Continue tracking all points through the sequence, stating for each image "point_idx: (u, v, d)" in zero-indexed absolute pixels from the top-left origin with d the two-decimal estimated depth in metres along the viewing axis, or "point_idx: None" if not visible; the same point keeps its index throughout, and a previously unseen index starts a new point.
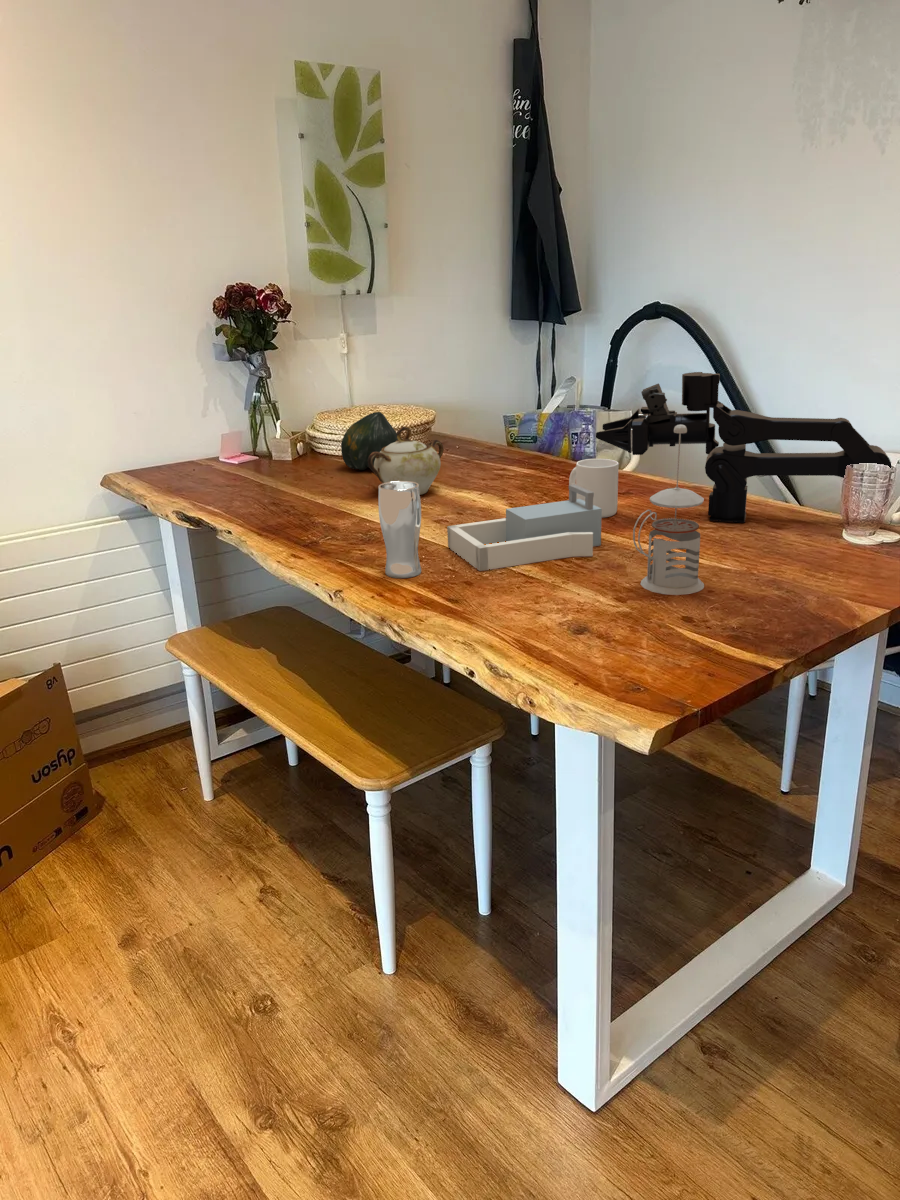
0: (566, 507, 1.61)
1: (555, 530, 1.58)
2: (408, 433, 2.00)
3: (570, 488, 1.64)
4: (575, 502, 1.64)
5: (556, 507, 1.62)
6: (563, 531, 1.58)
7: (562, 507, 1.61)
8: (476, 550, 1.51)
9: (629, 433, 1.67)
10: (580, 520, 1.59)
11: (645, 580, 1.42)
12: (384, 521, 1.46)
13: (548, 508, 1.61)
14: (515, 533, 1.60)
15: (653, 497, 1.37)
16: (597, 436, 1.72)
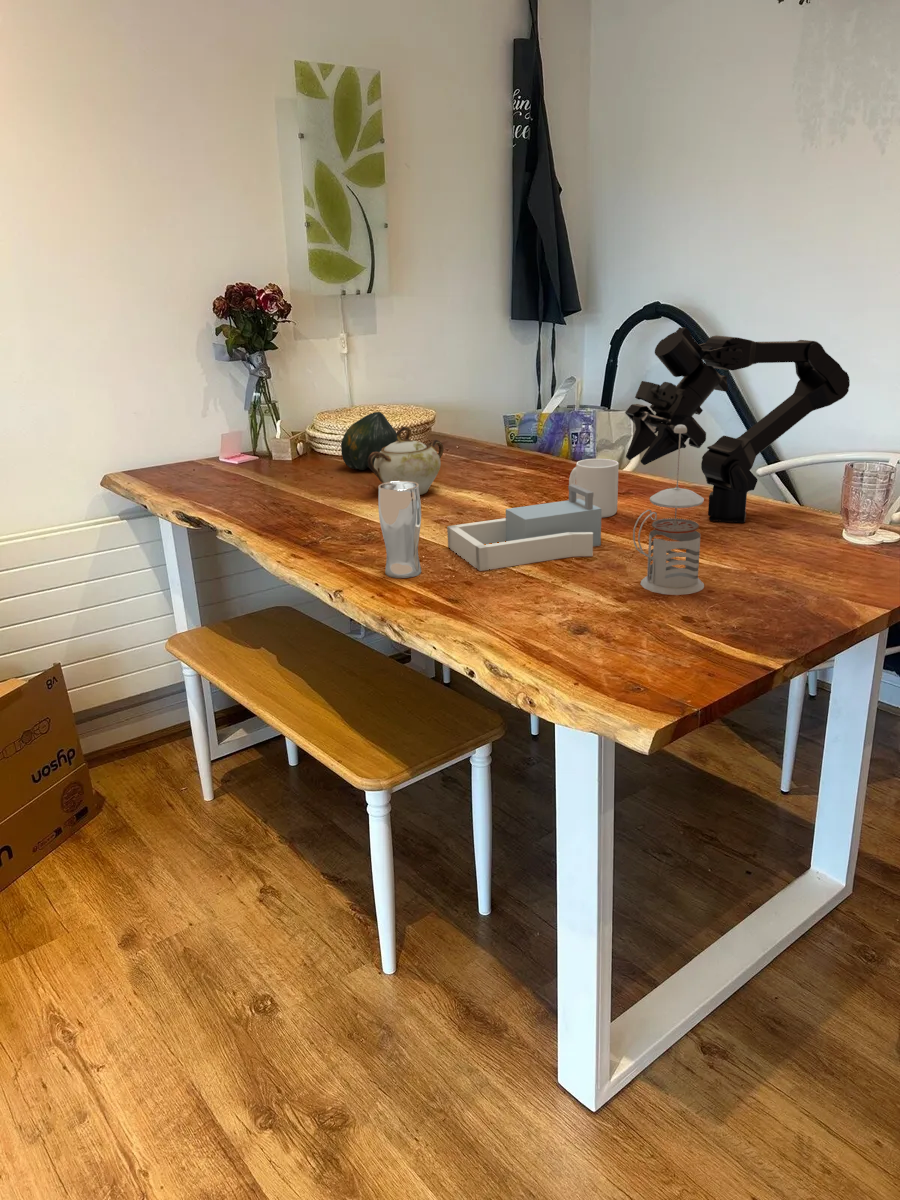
0: (566, 507, 1.61)
1: (554, 530, 1.58)
2: (408, 433, 2.00)
3: (570, 488, 1.64)
4: (575, 502, 1.64)
5: (556, 507, 1.62)
6: (563, 531, 1.58)
7: (562, 507, 1.61)
8: (476, 550, 1.51)
9: (674, 434, 1.58)
10: (580, 520, 1.59)
11: (645, 580, 1.42)
12: (384, 521, 1.46)
13: (548, 508, 1.61)
14: (515, 533, 1.60)
15: (653, 497, 1.37)
16: (644, 462, 1.61)
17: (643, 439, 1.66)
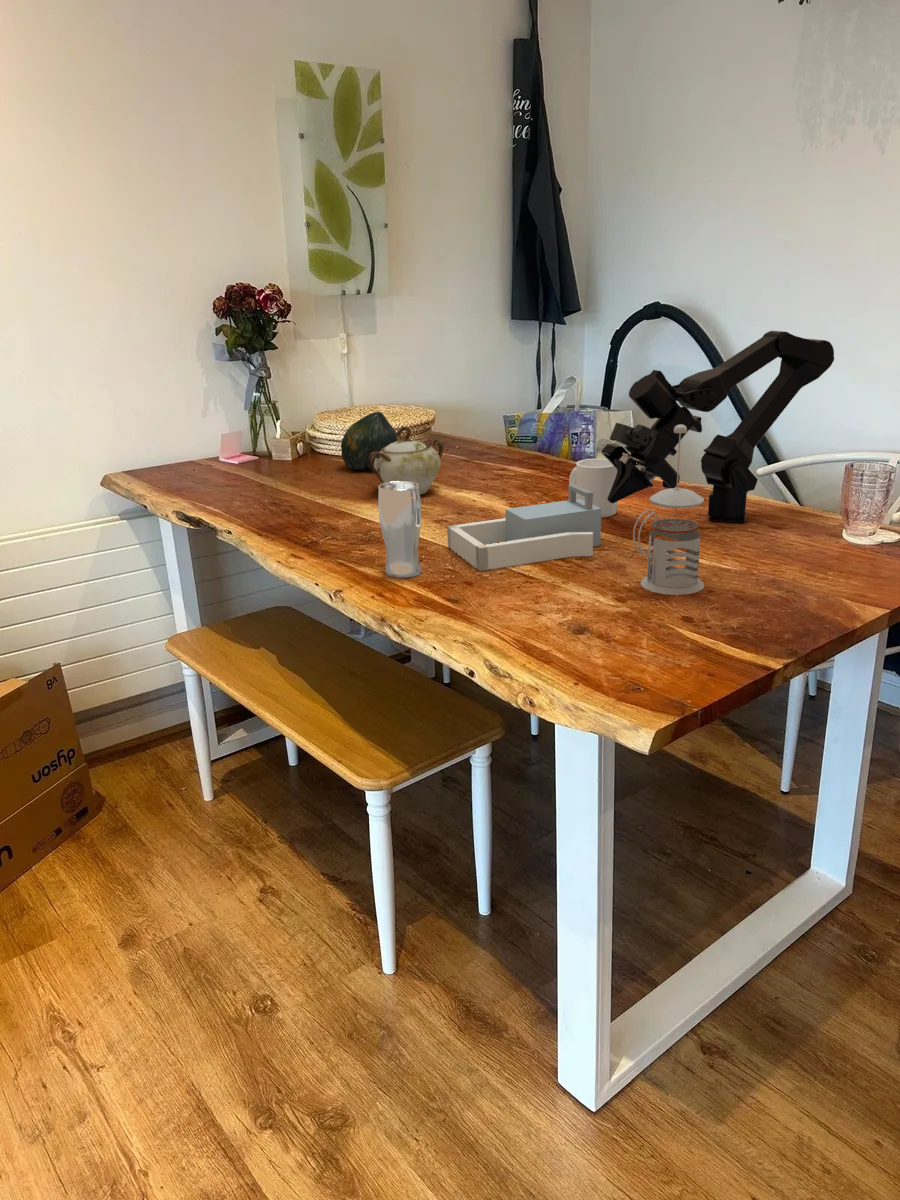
0: (566, 507, 1.61)
1: (554, 530, 1.58)
2: (408, 433, 2.00)
3: (570, 488, 1.64)
4: (575, 502, 1.64)
5: (556, 507, 1.62)
6: (563, 531, 1.58)
7: (562, 507, 1.61)
8: (476, 550, 1.51)
9: (641, 474, 1.61)
10: (580, 520, 1.59)
11: (645, 580, 1.42)
12: (384, 521, 1.46)
13: (548, 508, 1.61)
14: (514, 533, 1.60)
15: (653, 497, 1.37)
16: (612, 501, 1.64)
17: None
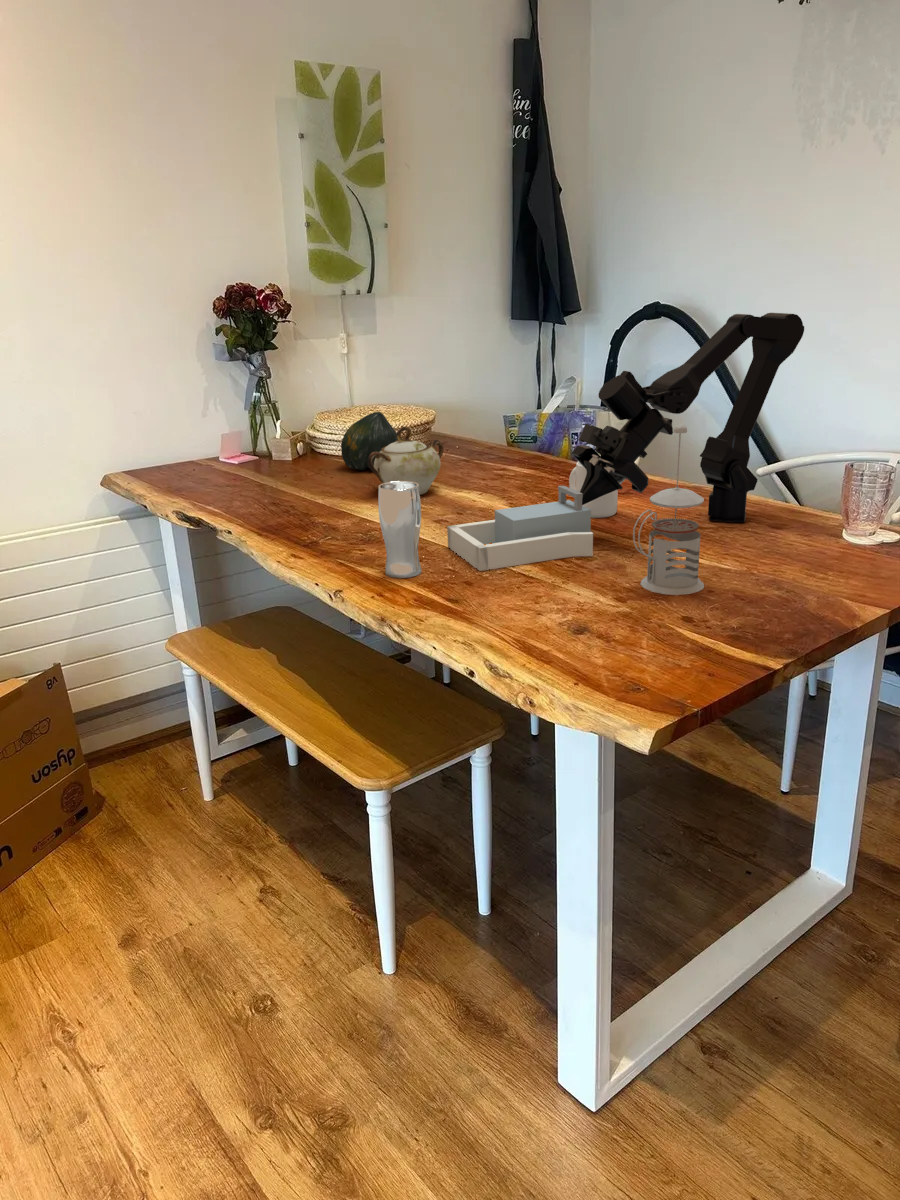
0: (555, 508, 1.61)
1: (543, 531, 1.57)
2: (408, 433, 2.00)
3: (559, 489, 1.63)
4: (564, 503, 1.64)
5: (545, 508, 1.61)
6: (552, 532, 1.58)
7: (551, 508, 1.61)
8: (476, 550, 1.51)
9: (610, 476, 1.59)
10: (569, 521, 1.58)
11: (645, 580, 1.42)
12: (384, 521, 1.46)
13: (537, 509, 1.60)
14: (504, 534, 1.59)
15: (653, 497, 1.37)
16: None
17: None
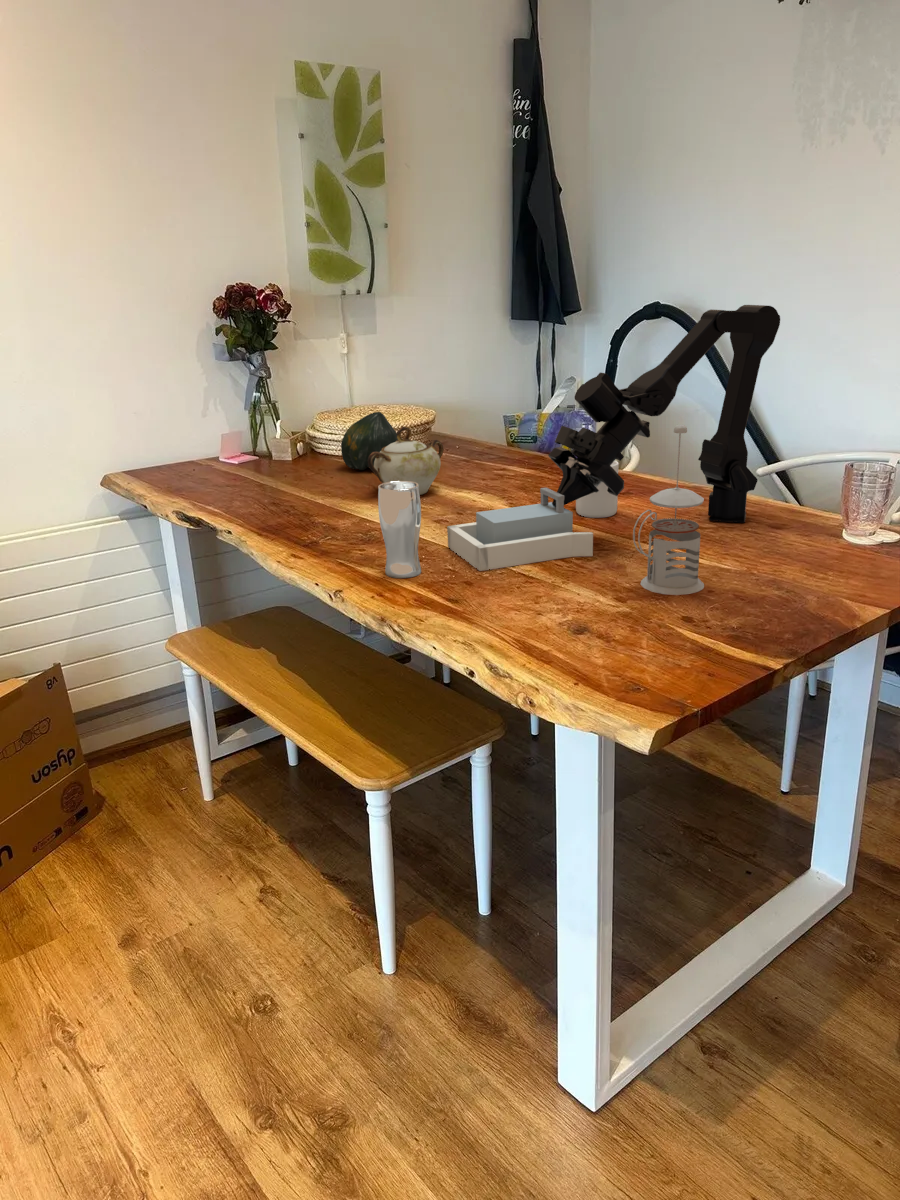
0: (537, 510, 1.59)
1: (525, 534, 1.56)
2: (408, 433, 2.00)
3: (542, 491, 1.62)
4: (547, 505, 1.62)
5: (527, 510, 1.60)
6: (533, 535, 1.56)
7: (533, 510, 1.60)
8: (476, 550, 1.51)
9: (586, 478, 1.57)
10: (551, 524, 1.57)
11: (645, 580, 1.42)
12: (384, 521, 1.46)
13: (519, 511, 1.59)
14: (485, 537, 1.58)
15: (653, 497, 1.37)
16: None
17: None
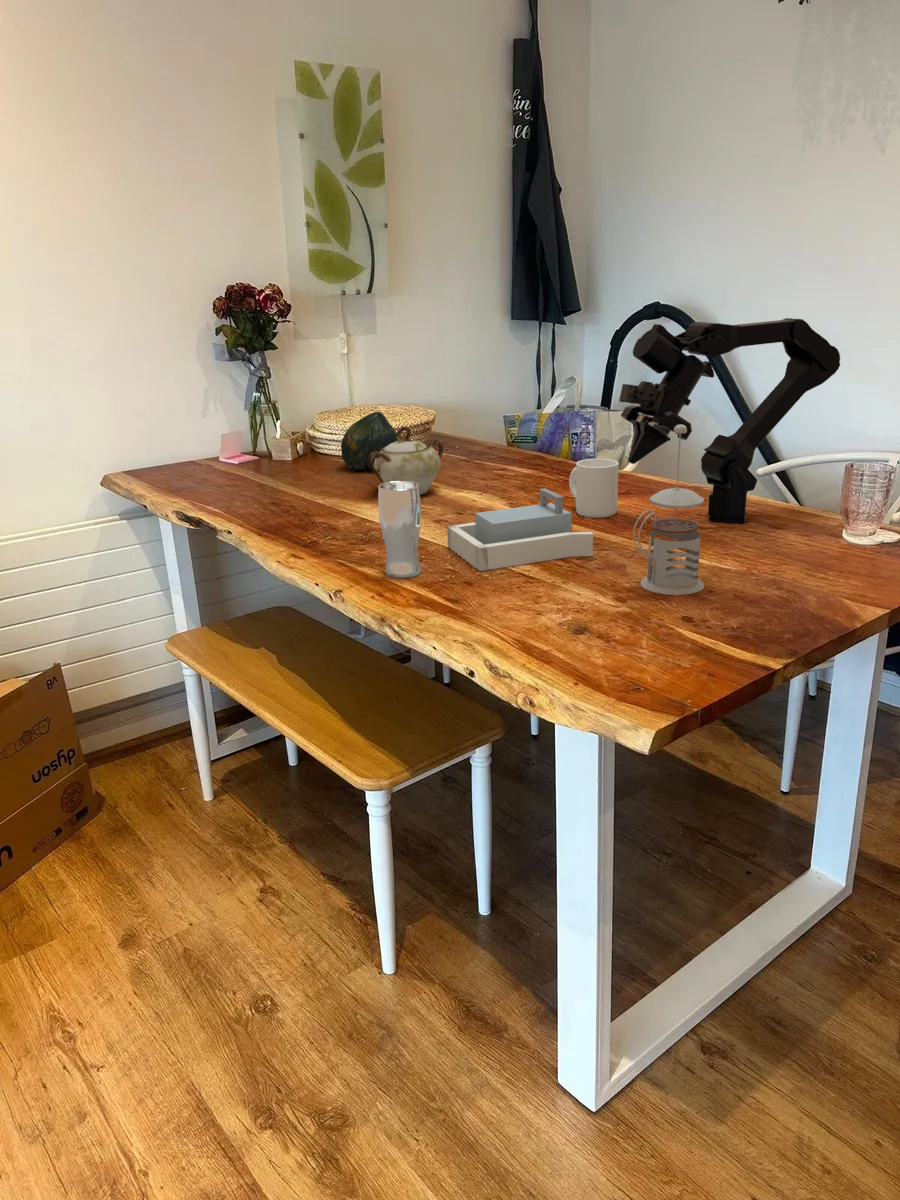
0: (536, 511, 1.59)
1: (523, 534, 1.56)
2: (408, 433, 2.00)
3: (541, 492, 1.62)
4: (546, 506, 1.62)
5: (526, 511, 1.60)
6: (532, 536, 1.56)
7: (532, 511, 1.59)
8: (476, 550, 1.51)
9: (654, 429, 1.60)
10: (550, 525, 1.57)
11: (645, 580, 1.42)
12: (384, 521, 1.46)
13: (518, 512, 1.59)
14: (484, 537, 1.58)
15: (653, 497, 1.37)
16: (633, 462, 1.64)
17: None
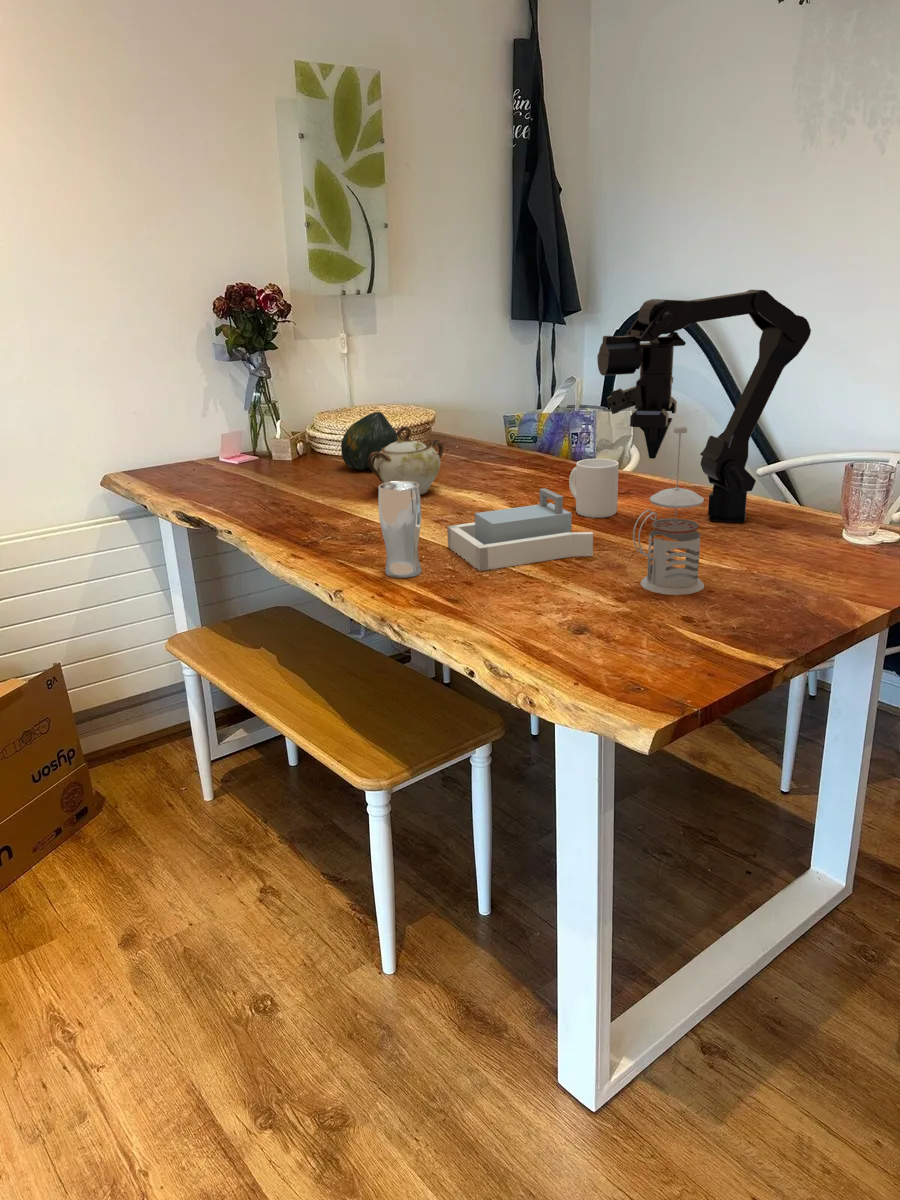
0: (536, 511, 1.59)
1: (523, 534, 1.56)
2: (408, 433, 2.00)
3: (541, 492, 1.62)
4: (546, 506, 1.62)
5: (526, 511, 1.60)
6: (532, 536, 1.56)
7: (532, 511, 1.59)
8: (476, 550, 1.51)
9: None
10: (550, 525, 1.57)
11: (645, 580, 1.42)
12: (384, 521, 1.46)
13: (517, 512, 1.59)
14: (483, 537, 1.58)
15: (653, 497, 1.37)
16: (653, 457, 1.68)
17: None
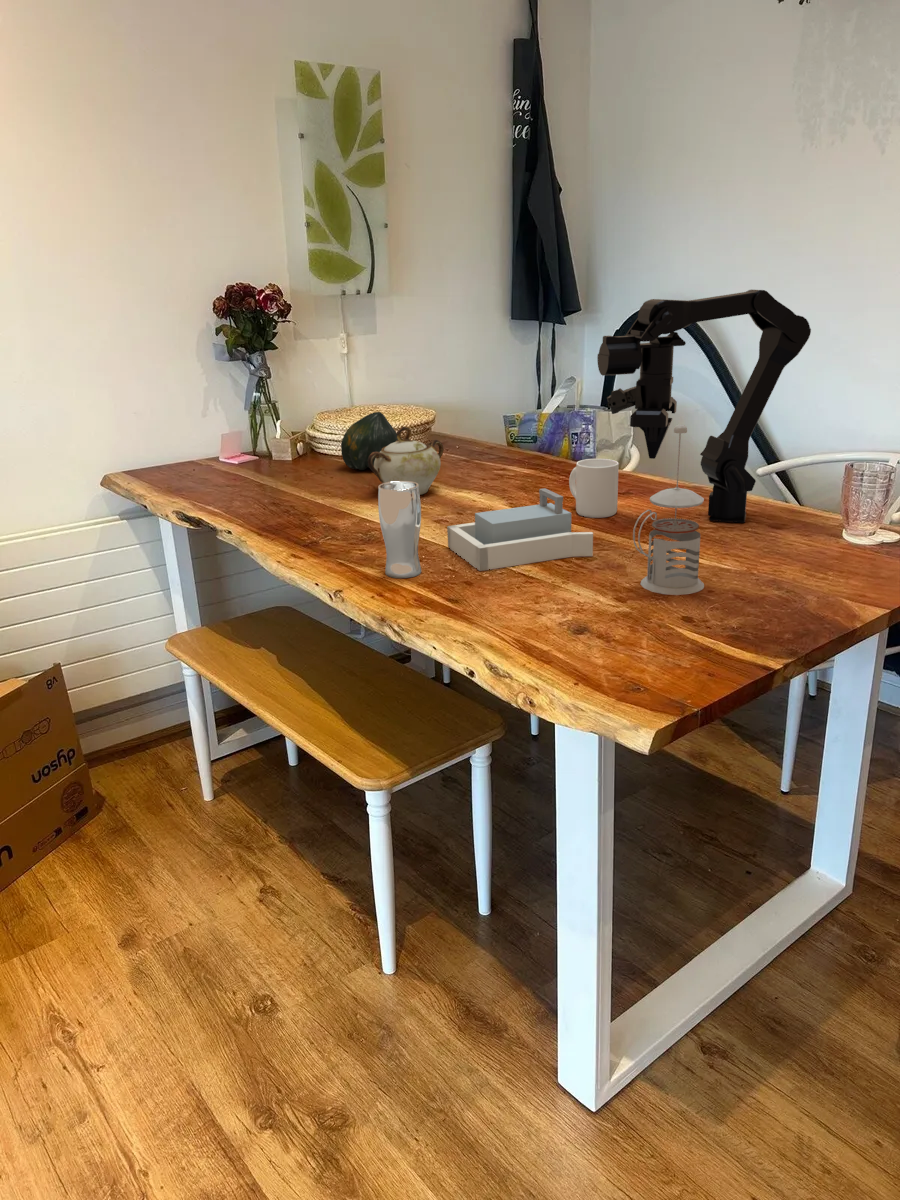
0: (536, 511, 1.59)
1: (523, 534, 1.56)
2: (408, 433, 2.00)
3: (540, 492, 1.62)
4: (546, 506, 1.62)
5: (526, 511, 1.60)
6: (532, 536, 1.56)
7: (532, 511, 1.59)
8: (476, 550, 1.51)
9: None
10: (549, 525, 1.57)
11: (645, 580, 1.42)
12: (384, 521, 1.46)
13: (517, 512, 1.59)
14: (483, 537, 1.58)
15: (653, 497, 1.37)
16: (653, 457, 1.68)
17: None
